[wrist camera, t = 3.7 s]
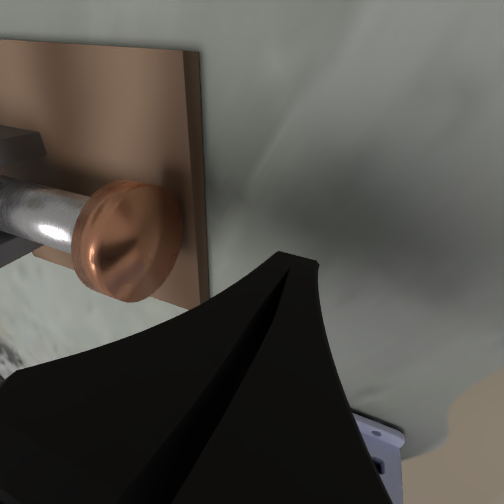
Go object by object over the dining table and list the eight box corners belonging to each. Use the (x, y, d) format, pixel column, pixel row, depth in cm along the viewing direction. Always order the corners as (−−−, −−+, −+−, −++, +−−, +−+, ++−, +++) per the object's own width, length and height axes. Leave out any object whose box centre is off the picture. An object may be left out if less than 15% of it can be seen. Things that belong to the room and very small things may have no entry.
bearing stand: (198, 52, 10) (36, 37, 5) (209, 302, 16) (144, 391, 12) (-46, 36, 13) (-271, 19, 8) (47, 248, 20) (-51, 301, 15)
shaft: (177, 170, 11) (83, 217, 7) (186, 260, 13) (119, 327, 10) (12, 137, 13) (-117, 161, 10) (45, 219, 16) (-47, 260, 12)
